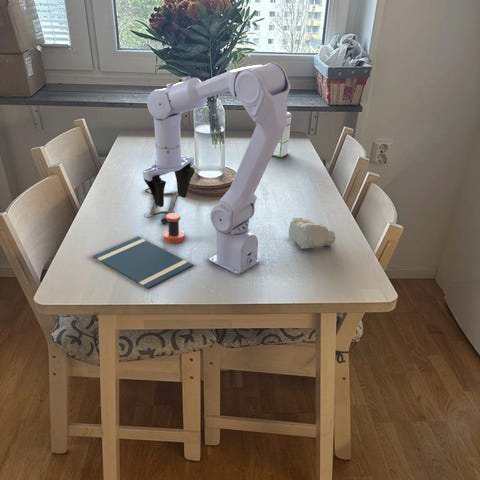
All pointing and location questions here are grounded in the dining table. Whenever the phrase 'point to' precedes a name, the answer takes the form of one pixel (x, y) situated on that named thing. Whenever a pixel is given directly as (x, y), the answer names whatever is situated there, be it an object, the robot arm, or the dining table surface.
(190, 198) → the dining table surface
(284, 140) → the syrup box
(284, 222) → the dining table surface
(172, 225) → the orange thread spool
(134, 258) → the tea towel
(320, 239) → the decorative stone
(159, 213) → the hacksaw
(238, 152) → the dining table surface
